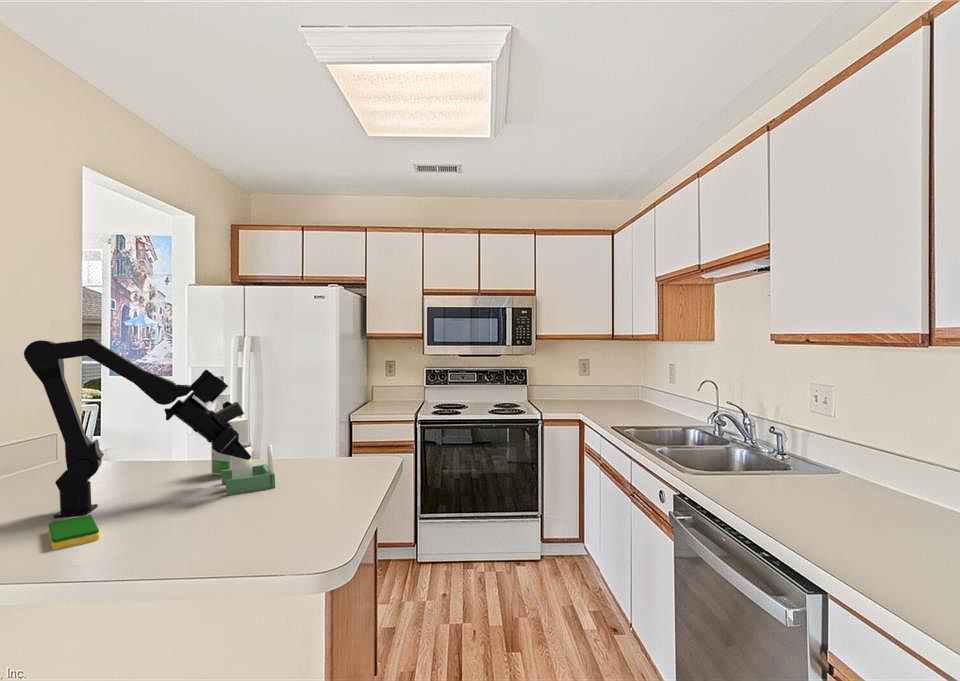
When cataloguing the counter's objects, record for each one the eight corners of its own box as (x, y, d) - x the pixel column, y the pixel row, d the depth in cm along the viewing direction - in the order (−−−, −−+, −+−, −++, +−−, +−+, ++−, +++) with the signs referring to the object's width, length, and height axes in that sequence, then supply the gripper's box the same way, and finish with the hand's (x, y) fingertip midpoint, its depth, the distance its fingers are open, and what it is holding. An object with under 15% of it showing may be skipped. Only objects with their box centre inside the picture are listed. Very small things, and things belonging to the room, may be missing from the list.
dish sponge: (52, 552, 100) (52, 539, 100) (48, 534, 111) (48, 522, 111) (99, 542, 105) (99, 529, 105) (91, 525, 115) (91, 513, 115)
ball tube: (251, 487, 139) (249, 444, 139) (231, 489, 138) (229, 446, 138) (254, 483, 144) (252, 441, 144) (234, 485, 143) (232, 442, 143)
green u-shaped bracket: (226, 495, 133) (224, 452, 133) (221, 483, 145) (220, 443, 145) (275, 487, 139) (273, 446, 139) (266, 476, 150) (265, 438, 150)
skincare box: (211, 475, 155) (208, 420, 155) (231, 469, 161) (229, 416, 161) (231, 477, 151) (228, 421, 151) (251, 471, 157) (248, 417, 157)
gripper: (226, 395, 131) (276, 435, 136) (219, 390, 147) (264, 426, 153) (190, 431, 127) (243, 472, 132) (187, 422, 143) (234, 458, 149)
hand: (247, 455), depth 142 cm, fingers open, 9 cm apart
